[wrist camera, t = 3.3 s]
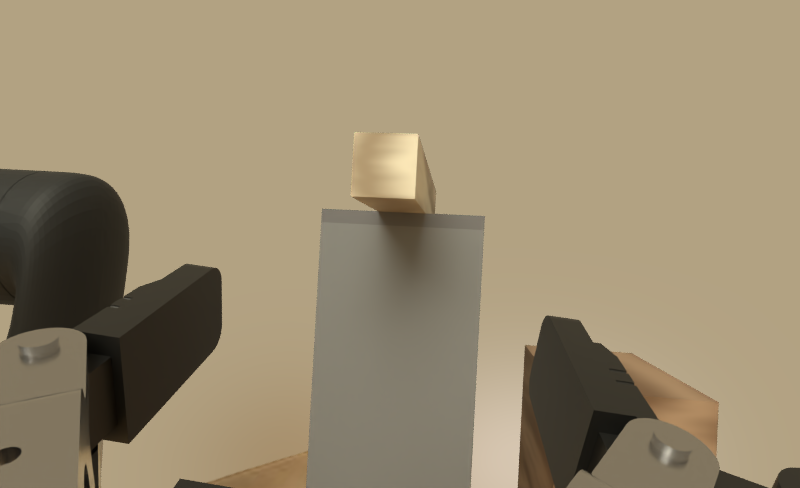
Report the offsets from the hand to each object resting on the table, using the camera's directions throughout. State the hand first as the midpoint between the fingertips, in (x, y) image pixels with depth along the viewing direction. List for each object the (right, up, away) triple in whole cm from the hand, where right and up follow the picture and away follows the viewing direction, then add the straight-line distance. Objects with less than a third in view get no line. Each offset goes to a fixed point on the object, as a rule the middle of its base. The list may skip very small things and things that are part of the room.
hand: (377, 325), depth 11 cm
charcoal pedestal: (0, -28, +29) cm, 40 cm away
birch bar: (+1, +4, +25) cm, 25 cm away
